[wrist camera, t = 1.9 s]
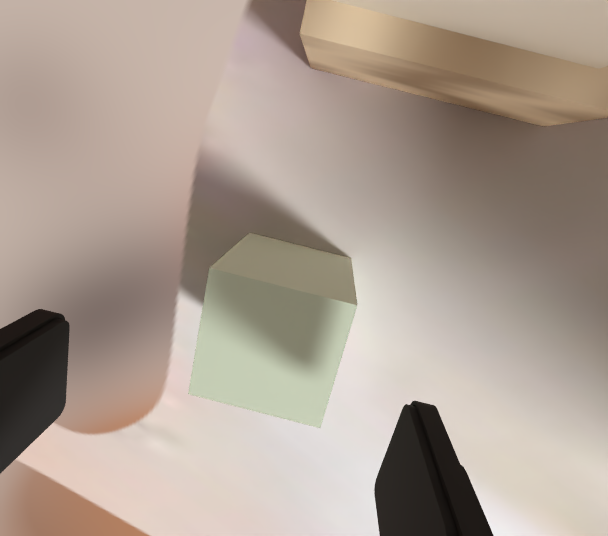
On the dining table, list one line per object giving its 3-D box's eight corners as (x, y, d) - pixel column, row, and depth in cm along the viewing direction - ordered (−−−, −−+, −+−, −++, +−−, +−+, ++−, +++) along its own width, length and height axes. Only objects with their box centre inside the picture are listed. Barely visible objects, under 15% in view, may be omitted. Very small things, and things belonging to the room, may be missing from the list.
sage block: (351, 257, 18) (357, 305, 12) (325, 348, 20) (320, 428, 14) (249, 232, 18) (209, 268, 12) (231, 324, 20) (187, 394, 14)
